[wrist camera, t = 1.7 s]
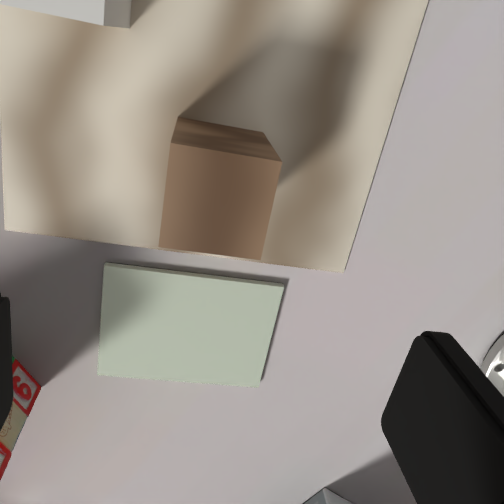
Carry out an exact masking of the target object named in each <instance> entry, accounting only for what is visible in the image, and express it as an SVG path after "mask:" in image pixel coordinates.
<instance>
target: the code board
mask: <svg viewBox="0 0 504 504" xmlns="http://www.w3.org/2000/svg"><path fill="white" fill-rule="evenodd" d="M428 1H429V0H132V1H131V15H130V29H129V28H120V27H111V26H103V25H98V24H93V23H88V22H83V21H79V20H74V19H69V18H64V17H59V16H55V15H50V14H45V13H40V12H35V11H31V10H26V9H21V8H16V7H12V6H7V5H2V4H0V120H1V146H2V171H3V197H4V222H5V230H9V231H17V232H25V233H33V234H41V235H48V236H56V237H64V238H72V239H80V240H88V241H95V242H103V243H111V244H119V245H127V246H135V247H142V248H150V249H158V250H166V251H174V252H182V253H190V254H197V255H205V256H213V257H221V258H229V259H237V260H244V261H252V262H260V263H268V264H276V265H284V266H291V267H299V268H307V269H315V270H323V271H331V272H339V273H344V269H345V266H346V263H347V260H348V257H349V253H350V250H351V247H352V244H353V241H354V237H355V234H356V231H357V228H358V225H359V221H360V218H361V215H362V212H363V209H364V205H365V202H366V199H367V196H368V193H369V189H370V186H371V183H372V180H373V177H374V173H375V170H376V167H377V164H378V161H379V157H380V154H381V151H382V148H383V145H384V141H385V138H386V135H387V132H388V129H389V125H390V122H391V119H392V116H393V113H394V109H395V106H396V103H397V100H398V97H399V93H400V90H401V87H402V84H403V81H404V77H405V74H406V71H407V68H408V65H409V61H410V58H411V55H412V52H413V49H414V45H415V42H416V39H417V36H418V33H419V29H420V26H421V23H422V20H423V17H424V13H425V10H426V7H427V4H428ZM178 117H182V118H187V119H193V120H199V121H204V122H210V123H215V124H221V125H226V126H232V127H238V128H243V129H249V130H254V131H260V132H263V133H264V134H265V136H266V137H267V139H268V140H269V142H270V143H271V145H272V147H273V148H274V150H275V151H276V153H277V154H278V156H279V157H280V159H281V160H282V166H281V171H280V175H279V180H278V184H277V189H276V193H275V198H274V202H273V207H272V211H271V216H270V220H269V225H268V229H267V234H266V238H265V243H264V247H263V252H262V256H261V260H254V259H246V258H239V257H231V256H223V255H215V254H207V253H200V252H192V251H184V250H176V249H168V248H161V247H158V245H159V237H160V228H161V219H162V211H163V202H164V194H165V185H166V176H167V168H168V159H169V151H170V143H171V139H172V136H173V132H174V129H175V125H176V122H177V118H178Z"/></svg>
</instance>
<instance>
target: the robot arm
mask: <svg viewBox="0 0 504 504" xmlns="http://www.w3.org/2000/svg"><path fill="white" fill-rule="evenodd" d="M12 402H13V370H12V345H11V320H10V301H9V298H8V297H1V293H0V431H1V429H2V427H3V425H4V423H5V421H6V419H7V417H8V415H9V412H10V410H11V407H12ZM381 426H382V430H383V433H384V435H385V437H386V439H387V441H388V443H389V445H390V447H391V449H392V452H393V454H394V456H395V458H396V460H397V462H398V464H399V466H400V468H401V471H402V473H403V475H404V477H405V479H406V481H407V483H408V485H409V487H410V489H411V492H412V494H413V496H414V498H415V500H416V502H417V504H504V334H503V335H502V336H501V337H500V338H499V339H498V340H497V341H496V343H495V344H494V345H493V346H492V348H491V349H490V350H489V352H488V354H487V356H486V357H485V359H484V361H483V363H482V366H481V369H480V368H479V367H478V366H477V365H476V364H475V362H474V361H473V360H472V359H471V358H470V356H469V355H468V354H467V353H466V352H465V351H464V349H463V348H462V347H461V346H460V345H459V344H458V342H457V341H456V340H455V339H454V338H453V336H451V335H450V334H449V333H443V332H433V331H425V332H423V333H422V334H421V335H420V336H417V337H416V338H415V339H414V341H413V343H412V345H411V348H410V350H409V353H408V355H407V357H406V360H405V362H404V364H403V367H402V369H401V372H400V374H399V376H398V379H397V381H396V384H395V386H394V388H393V391H392V393H391V395H390V398H389V400H388V403H387V405H386V407H385V410H384V412H383V414H382V418H381Z"/></svg>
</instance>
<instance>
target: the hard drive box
mask: <svg viewBox="0 0 504 504" xmlns="http://www.w3.org/2000/svg"><path fill="white" fill-rule="evenodd" d="M304 504H353V503H351V502H349V501H347V500H346V499H343V498H341V497H340V496H338V495H336V494H335V493H333V492H331V491H330V490H328V489H326V488H324V489H322V490H321V491H320V492H318V493H317V494H316V495H315V496H313V497H312V498H311V499H309V500H308V501H307V502H305V503H304Z"/></svg>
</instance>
